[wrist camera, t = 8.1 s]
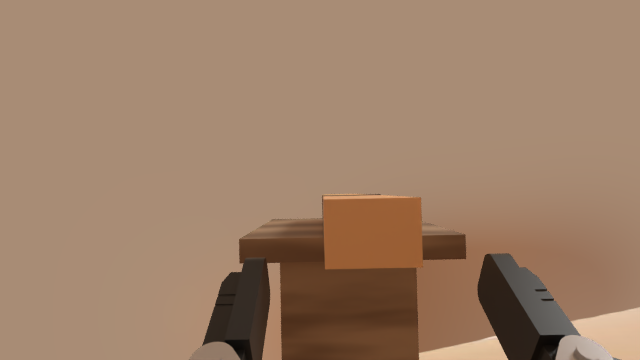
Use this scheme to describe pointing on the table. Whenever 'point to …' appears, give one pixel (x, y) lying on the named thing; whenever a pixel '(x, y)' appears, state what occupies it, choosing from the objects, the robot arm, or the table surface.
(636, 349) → the table surface
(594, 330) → the table surface
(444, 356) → the table surface
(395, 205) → the orange bar
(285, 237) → the shelf stand
